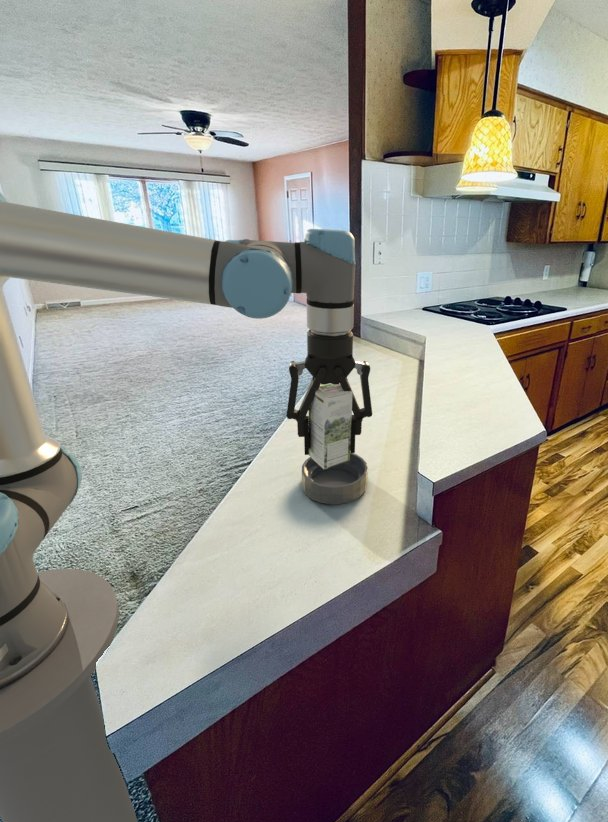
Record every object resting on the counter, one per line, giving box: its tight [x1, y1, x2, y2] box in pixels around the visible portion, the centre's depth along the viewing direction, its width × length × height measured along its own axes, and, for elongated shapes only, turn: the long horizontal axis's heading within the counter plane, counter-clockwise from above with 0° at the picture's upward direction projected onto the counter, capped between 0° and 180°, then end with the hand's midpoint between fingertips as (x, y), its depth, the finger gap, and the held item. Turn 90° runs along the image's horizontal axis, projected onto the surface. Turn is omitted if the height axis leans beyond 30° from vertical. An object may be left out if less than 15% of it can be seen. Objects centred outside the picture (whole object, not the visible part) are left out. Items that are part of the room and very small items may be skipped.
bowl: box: [301, 452, 369, 505], centre depth 96 cm, size 15×15×5 cm
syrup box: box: [308, 383, 354, 470], centre depth 74 cm, size 6×6×14 cm
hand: (329, 449), depth 76 cm, fingers closed on syrup box, 8 cm apart
